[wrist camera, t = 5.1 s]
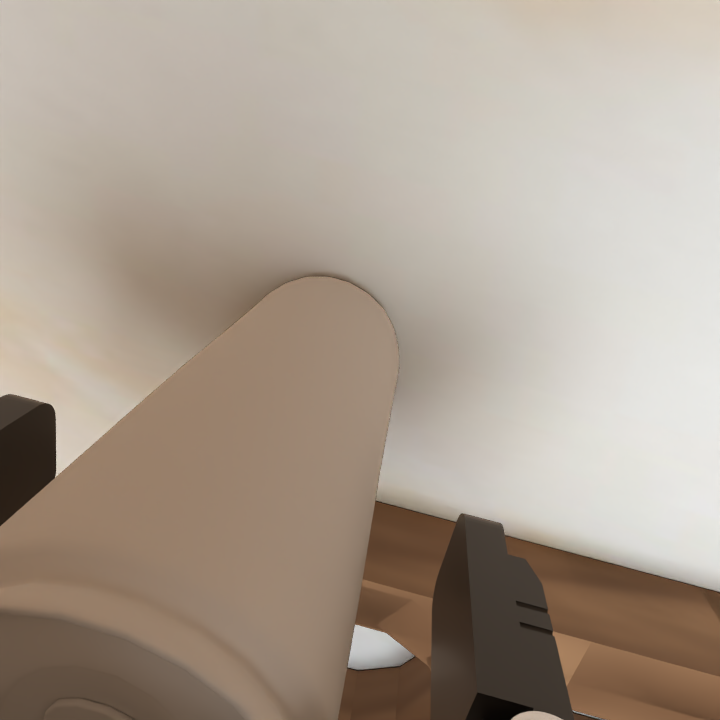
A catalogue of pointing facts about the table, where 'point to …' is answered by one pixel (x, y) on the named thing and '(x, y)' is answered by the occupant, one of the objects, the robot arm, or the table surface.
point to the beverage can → (211, 530)
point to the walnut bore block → (569, 621)
